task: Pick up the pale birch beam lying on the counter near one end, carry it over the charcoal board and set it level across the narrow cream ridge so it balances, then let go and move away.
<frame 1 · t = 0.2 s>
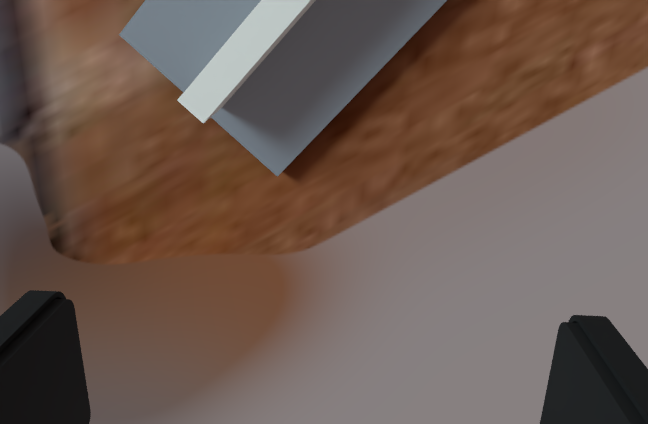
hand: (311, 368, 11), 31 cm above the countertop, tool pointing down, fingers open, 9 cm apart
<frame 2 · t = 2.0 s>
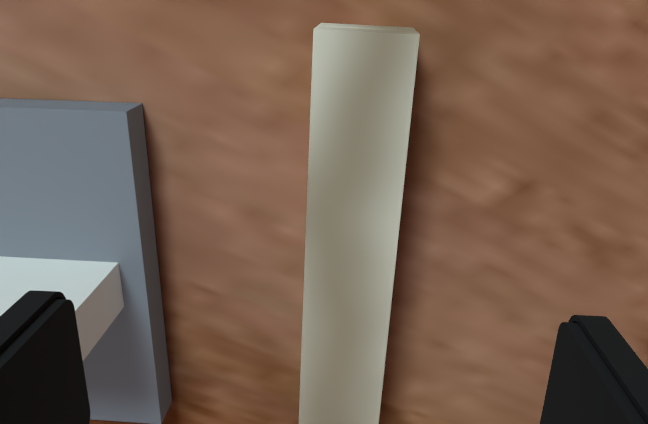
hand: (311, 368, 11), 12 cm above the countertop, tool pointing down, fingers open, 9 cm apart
birch beam: (347, 294, 24), on the countertop
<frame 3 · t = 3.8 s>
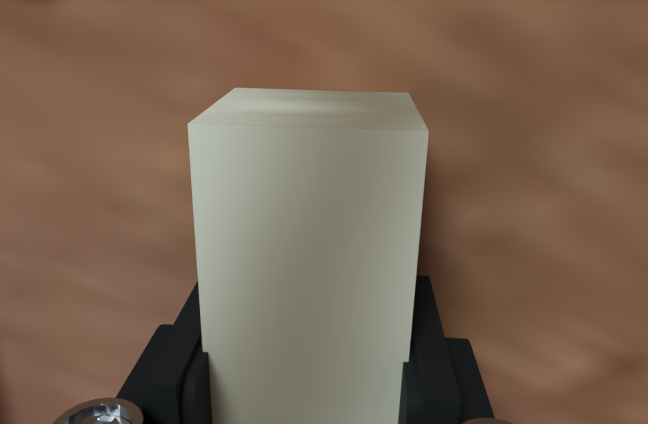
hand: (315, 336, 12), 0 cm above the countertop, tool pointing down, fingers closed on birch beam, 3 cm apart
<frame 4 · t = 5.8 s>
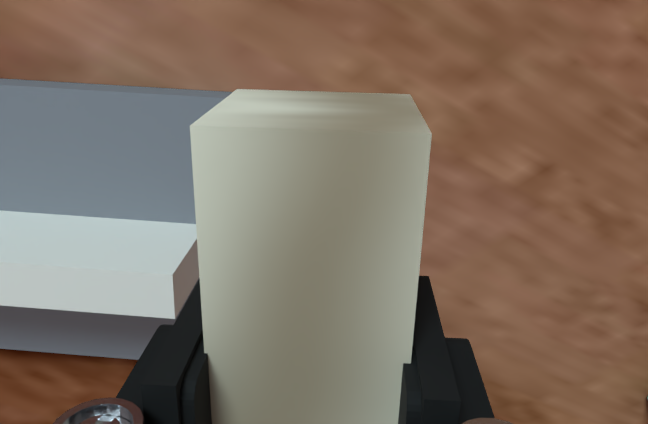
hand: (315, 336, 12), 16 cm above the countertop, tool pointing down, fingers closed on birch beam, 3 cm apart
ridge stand: (78, 221, 29), on the countertop
when the fingers open (8 cm above the countertop, at t = 8.2 s): birch beam stays where it is, resting on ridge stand.
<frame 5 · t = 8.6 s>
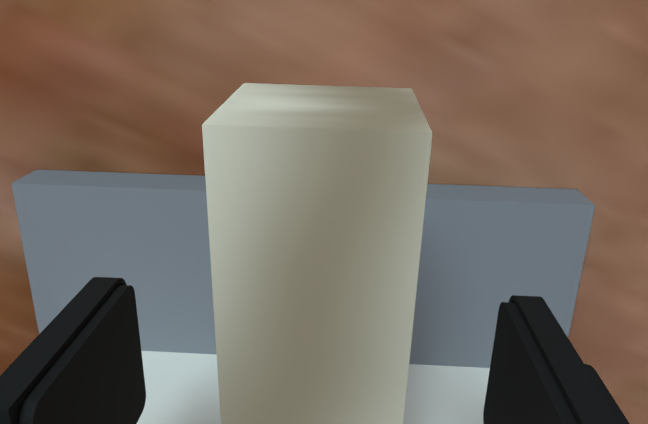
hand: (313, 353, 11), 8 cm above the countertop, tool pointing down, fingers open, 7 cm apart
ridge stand: (326, 358, 21), on the countertop
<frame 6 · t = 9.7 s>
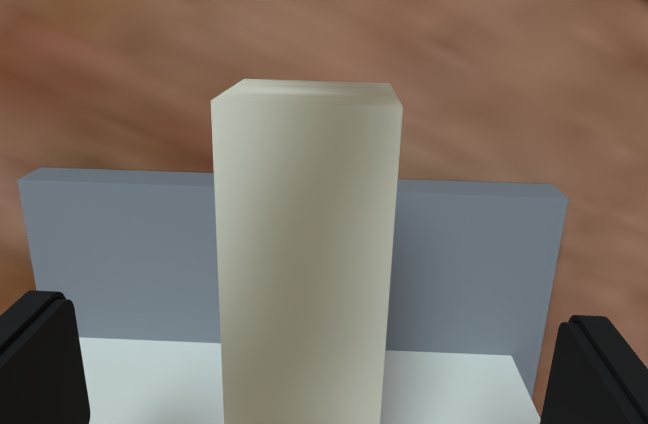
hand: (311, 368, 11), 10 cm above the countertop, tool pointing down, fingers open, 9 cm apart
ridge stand: (317, 347, 22), on the countertop
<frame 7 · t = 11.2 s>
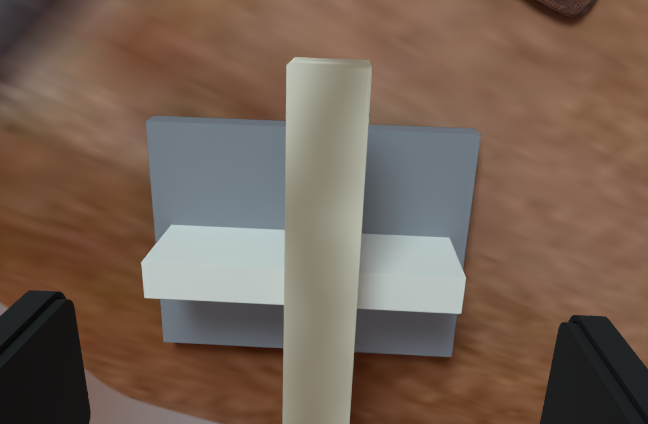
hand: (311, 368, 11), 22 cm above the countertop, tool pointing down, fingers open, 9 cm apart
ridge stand: (327, 237, 34), on the countertop
birch beam: (323, 287, 28), point 6 cm above the countertop, touching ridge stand
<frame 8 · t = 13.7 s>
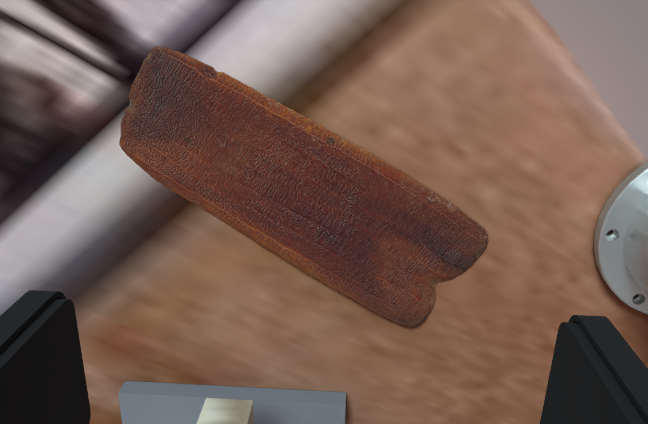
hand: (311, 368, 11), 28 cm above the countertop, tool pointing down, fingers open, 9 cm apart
wooden tablet: (301, 186, 40), on the countertop
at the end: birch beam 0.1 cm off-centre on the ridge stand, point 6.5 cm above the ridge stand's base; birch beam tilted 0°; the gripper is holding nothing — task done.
